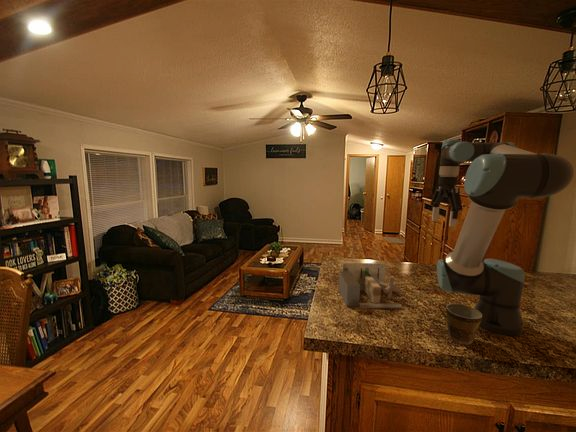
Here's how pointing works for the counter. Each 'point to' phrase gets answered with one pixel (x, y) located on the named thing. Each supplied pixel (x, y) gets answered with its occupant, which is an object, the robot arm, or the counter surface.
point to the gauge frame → (361, 283)
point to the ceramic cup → (462, 322)
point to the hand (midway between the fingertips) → (443, 223)
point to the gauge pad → (372, 289)
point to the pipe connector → (390, 287)
